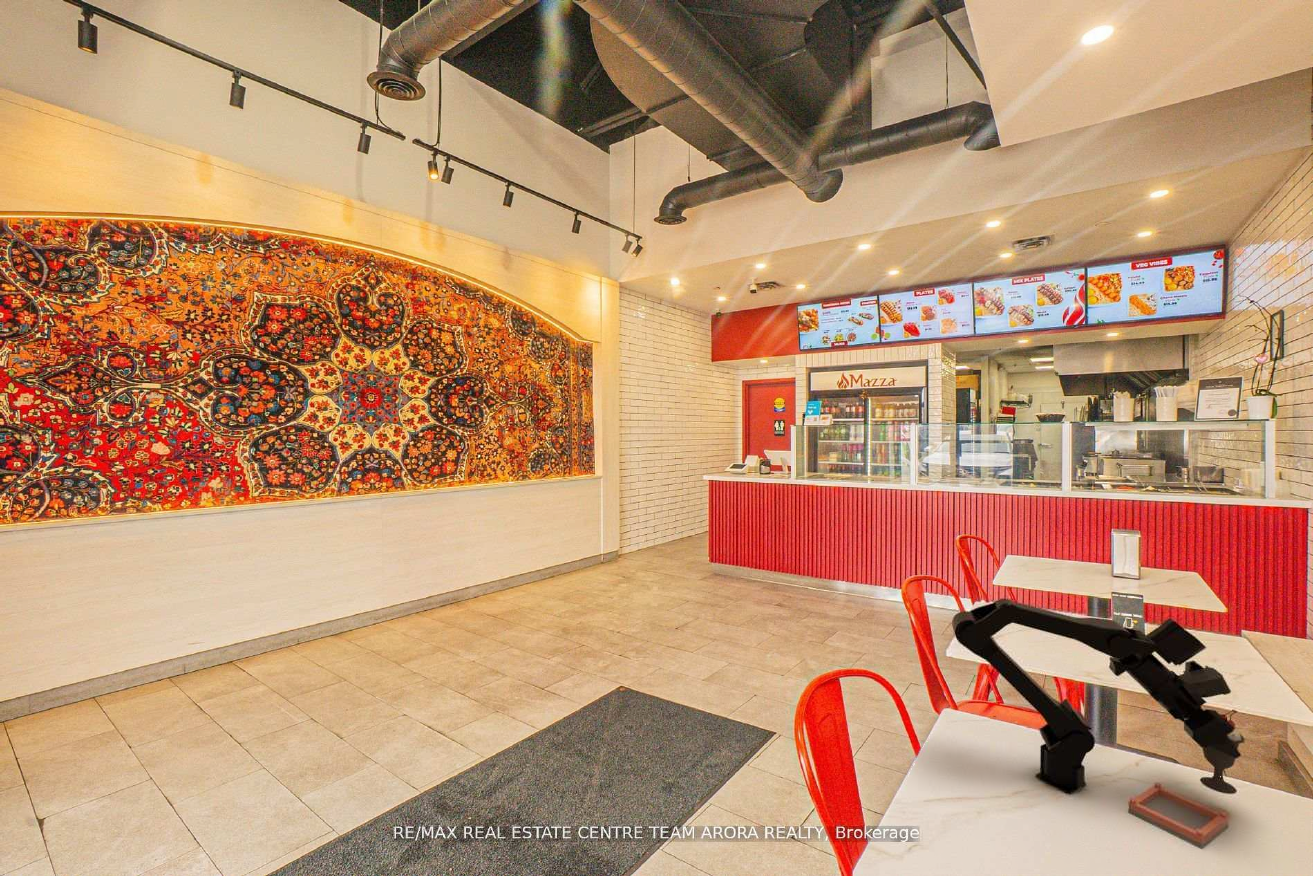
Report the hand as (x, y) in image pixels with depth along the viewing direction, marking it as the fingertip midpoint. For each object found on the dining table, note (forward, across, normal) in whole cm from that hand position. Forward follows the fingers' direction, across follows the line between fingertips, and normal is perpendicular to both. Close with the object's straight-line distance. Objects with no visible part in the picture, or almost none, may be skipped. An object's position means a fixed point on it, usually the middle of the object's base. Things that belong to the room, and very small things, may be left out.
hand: (1228, 747), depth 109 cm
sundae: (+5, 0, +6) cm, 8 cm away
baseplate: (+2, -6, +15) cm, 17 cm away
